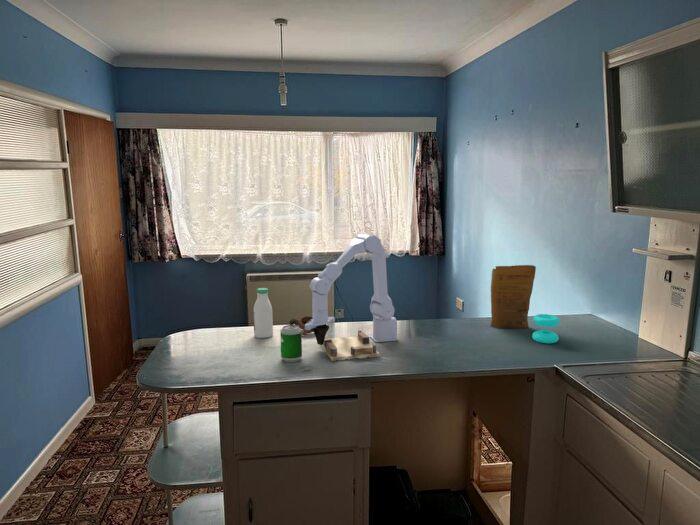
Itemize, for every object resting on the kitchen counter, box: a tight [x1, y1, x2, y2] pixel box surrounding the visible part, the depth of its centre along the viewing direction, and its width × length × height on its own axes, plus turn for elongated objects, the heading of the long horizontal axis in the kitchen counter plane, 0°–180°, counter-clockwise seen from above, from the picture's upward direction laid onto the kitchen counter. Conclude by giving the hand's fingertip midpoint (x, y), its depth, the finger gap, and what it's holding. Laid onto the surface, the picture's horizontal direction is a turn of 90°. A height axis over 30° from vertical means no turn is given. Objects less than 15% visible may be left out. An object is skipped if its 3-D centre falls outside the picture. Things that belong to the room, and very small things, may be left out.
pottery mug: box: [288, 315, 314, 337], centre depth 209 cm, size 12×10×8 cm
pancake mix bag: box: [490, 264, 537, 330], centre depth 216 cm, size 7×19×28 cm, turn 86°
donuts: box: [531, 313, 561, 344], centre depth 199 cm, size 10×10×10 cm
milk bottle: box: [253, 287, 274, 339], centre depth 204 cm, size 8×8×20 cm
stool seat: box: [321, 330, 381, 362], centre depth 189 cm, size 18×22×4 cm
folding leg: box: [323, 334, 332, 347], centre depth 191 cm, size 8×3×3 cm, turn 15°
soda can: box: [280, 324, 303, 363], centre depth 177 cm, size 8×8×12 cm
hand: (320, 344), depth 188 cm, fingers closed, pressing on folding leg
